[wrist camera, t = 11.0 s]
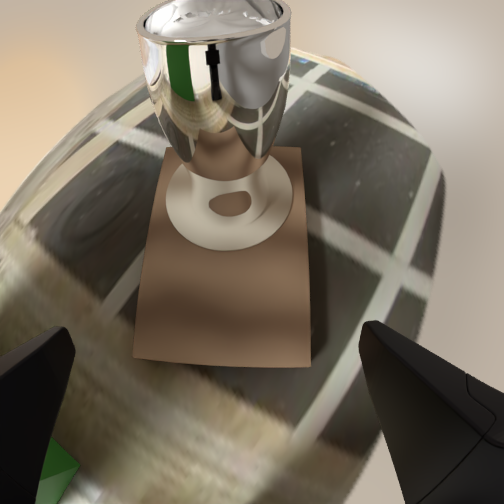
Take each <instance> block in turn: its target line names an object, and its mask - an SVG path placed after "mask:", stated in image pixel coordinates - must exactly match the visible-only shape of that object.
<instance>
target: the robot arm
mask: <svg viewBox="0 0 504 504" xmlns="http://www.w3.org/2000/svg"><path fill="white" fill-rule="evenodd" d="M359 354H360V358H361V361H362V366H363V370H364V374H365V378H366V382H367V386H368V390H369V394H370V397H371V400H372V403H373V406H374V408H375V411H376V414H377V417H378V420H379V423H380V425H381V428H382V431H383V434H384V437H385V440H386V443H387V446H388V449H389V452H390V455H391V458H392V461H393V464H394V467H395V471H396V474H397V477H398V480H399V484H400V487H401V490H402V494H403V497H404V501H405V504H504V393H502V392H500V391H498V390H496V389H494V388H492V387H490V386H489V385H487V384H485V383H483V382H481V381H480V380H478V379H476V378H475V377H472V376H471V375H469V374H468V373H467V374H466V373H465V372H464V371H462V370H461V369H459V368H458V367H456V366H454V365H452V364H451V363H449V362H447V361H446V360H444V359H442V358H441V357H439V356H437V355H435V354H434V353H432V352H430V351H429V350H427V349H425V348H424V347H422V346H420V345H419V344H417V343H415V342H414V341H412V340H410V339H408V338H407V337H405V336H403V335H402V334H400V333H398V332H397V331H395V330H393V329H391V328H390V327H388V326H386V325H385V324H383V323H381V322H379V321H377V320H374V321H366V322H364V324H363V326H362V330H361V335H360V340H359ZM74 357H75V346H74V344H73V342H72V339H71V337H70V334H69V332H68V330H67V329H66V328H65V327H59V326H55V327H53V328H51V329H49V330H47V331H45V332H44V333H42V334H40V335H38V336H36V337H35V338H33V339H31V340H29V341H27V342H26V343H24V344H22V345H20V346H19V347H17V348H15V349H13V350H12V351H10V352H8V353H6V354H5V355H3V356H1V357H0V504H35V503H36V497H37V492H38V487H39V483H40V478H41V474H42V470H43V465H44V461H45V458H46V454H47V450H48V446H49V443H50V439H51V436H52V432H53V429H54V426H55V423H56V419H57V416H58V413H59V410H60V407H61V404H62V401H63V398H64V395H65V392H66V388H67V384H68V380H69V376H70V372H71V368H72V365H73V361H74Z"/></svg>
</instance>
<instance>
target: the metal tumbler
mask: <svg viewBox="0 0 504 504" xmlns="http://www.w3.org/2000/svg"><path fill="white" fill-rule="evenodd" d="M290 17H291V9H290V7H289V6H288V5H287V4H286V3H285V2H284V1H282V0H167V1H165V2H162V3H160V4H158V5H156V6H155V7H153V8H151V9H150V10H148V11H147V12H146V13H144V14H143V15H142V16H141V17H140V18H139V20H138V22H137V24H136V31H137V33H138V38H139V44H140V51H141V57H142V63H143V68H144V74H145V79H146V83H147V87H148V91H149V95H150V99H151V102H152V105H153V108H154V110H155V113H156V116H157V119H158V121H159V123H160V125H161V127H162V129H163V131H164V133H165V135H166V137H167V139H168V141H169V142H170V144H171V146H172V147H173V149H174V151H175V152H176V154H177V155H178V157H179V159H180V160H181V162H182V164H183V165H184V167H185V169H186V170H187V172H188V175H189V177H190V181H191V204H192V207H193V209H194V211H195V212H196V214H197V215H198V216H199V217H200V218H201V219H202V220H203V221H205V222H206V223H208V224H210V225H212V226H215V227H219V228H237V227H241V226H244V225H247V224H249V223H251V222H253V221H254V220H255V219H257V218H258V217H259V216H260V215H261V214H262V212H263V211H264V210H265V208H266V206H267V203H268V200H269V185H268V180H267V176H266V164H267V161H268V158H269V155H270V152H271V149H272V147H273V144H274V141H275V138H276V136H277V133H278V130H279V127H280V124H281V120H282V117H283V113H284V110H285V106H286V100H287V93H288V87H289V76H290V53H291V43H290V42H291V41H290Z"/></svg>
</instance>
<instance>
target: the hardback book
mask: <svg viewBox="0 0 504 504" xmlns="http://www.w3.org/2000/svg"><path fill="white" fill-rule="evenodd" d="M79 467H80V464H79V463H78V462H77V461H76V460H75V459H73V458H72V457H71V456H70V455H69V454H68V453H67V452H66V451H65V450H64V449H63V448H62V447H61V446H60V445H59V444H58V443H57V442H56V441H55V440H54V439H53V438H52V437H51V439H50V443H49V446H48V450H47V454H46V458H45V461H44V465H43V470H42V474H41V478H40V483H39V487H38V492H37V497H36V503H35V504H57V503H58V501H59V500H60V498H61V496H62V495H63V493H64V491H65V490H66V488H67V486H68V485H69V483H70V481H71V480H72V478H73V477H74V475H75V473H76V472H77V470H78V468H79Z"/></svg>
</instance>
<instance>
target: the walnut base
mask: <svg viewBox="0 0 504 504" xmlns="http://www.w3.org/2000/svg"><path fill="white" fill-rule="evenodd" d="M266 176H267V180H268V185H269V200H268V203H267V206H266V208H265V210H264V211H263V212H262V214H261V215H260V216H259V217H258V218H257V219H255V220H254V221H253V222H251V223H249V224H247V225H244V226H241V227H237V228H219V227H215V226H212V225H210V224H208V223H206V222H205V221H203V220H202V219H201V218H200V217H199V216H198V215H197V214H196V212H195V211H194V209H193V207H192V204H191V181H190V177H189V175H188V172H187V170H186V169H185V167H184V165H183V164H182V162H181V160H180V159H179V157H178V155H177V154H176V152H175V151H174V149H173V147H166V151H165V155H164V159H163V163H162V167H161V172H160V176H159V180H158V185H157V189H156V194H155V199H154V204H153V208H152V213H151V219H150V224H149V229H148V235H147V241H146V246H145V252H144V259H143V265H142V272H141V279H140V286H139V294H138V302H137V311H136V320H135V330H134V341H133V353H132V357H133V358H139V359H146V360H154V361H163V362H173V363H184V364H196V365H211V366H230V367H263V368H296V367H311V331H310V286H309V260H308V239H307V222H306V206H305V192H304V179H303V167H302V156H301V148H298V147H277V146H273V147H272V149H271V152H270V155H269V158H268V161H267V164H266Z"/></svg>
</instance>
